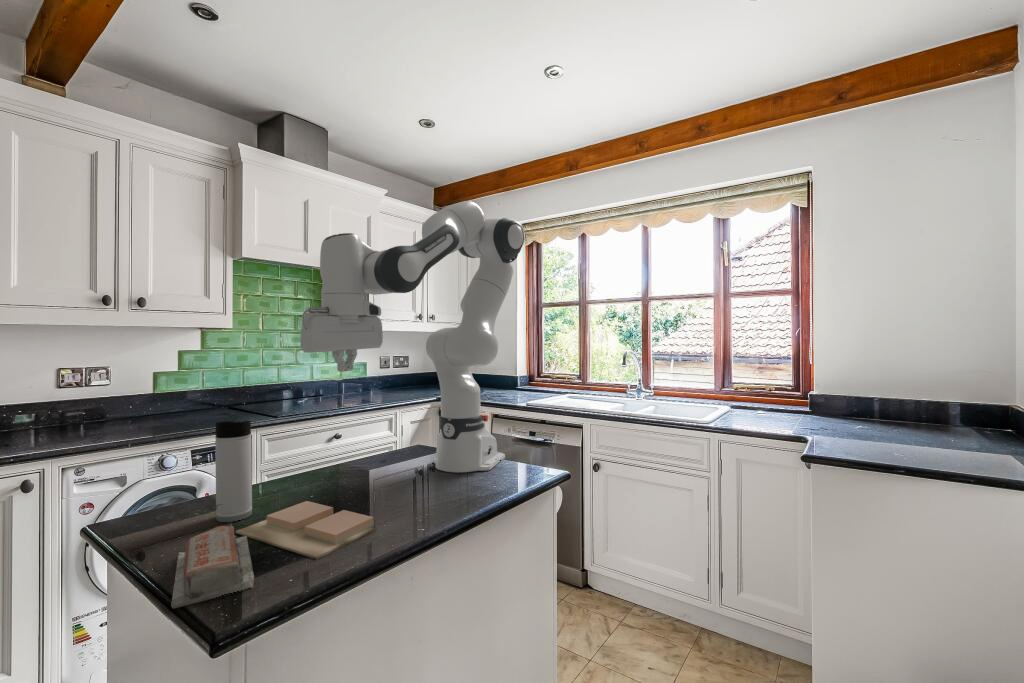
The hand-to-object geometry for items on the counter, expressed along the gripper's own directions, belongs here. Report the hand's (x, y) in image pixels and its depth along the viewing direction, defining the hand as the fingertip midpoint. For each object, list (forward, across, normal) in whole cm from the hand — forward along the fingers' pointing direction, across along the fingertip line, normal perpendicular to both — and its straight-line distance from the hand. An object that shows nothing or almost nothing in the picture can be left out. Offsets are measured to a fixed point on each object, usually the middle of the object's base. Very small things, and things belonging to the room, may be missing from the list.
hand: (345, 371), depth 102 cm
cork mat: (+29, -15, -5) cm, 33 cm away
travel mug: (+29, -17, +14) cm, 36 cm away
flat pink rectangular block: (+28, -8, 0) cm, 29 cm away
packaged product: (+29, -32, -5) cm, 43 cm away
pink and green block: (+28, -8, -11) cm, 31 cm away
